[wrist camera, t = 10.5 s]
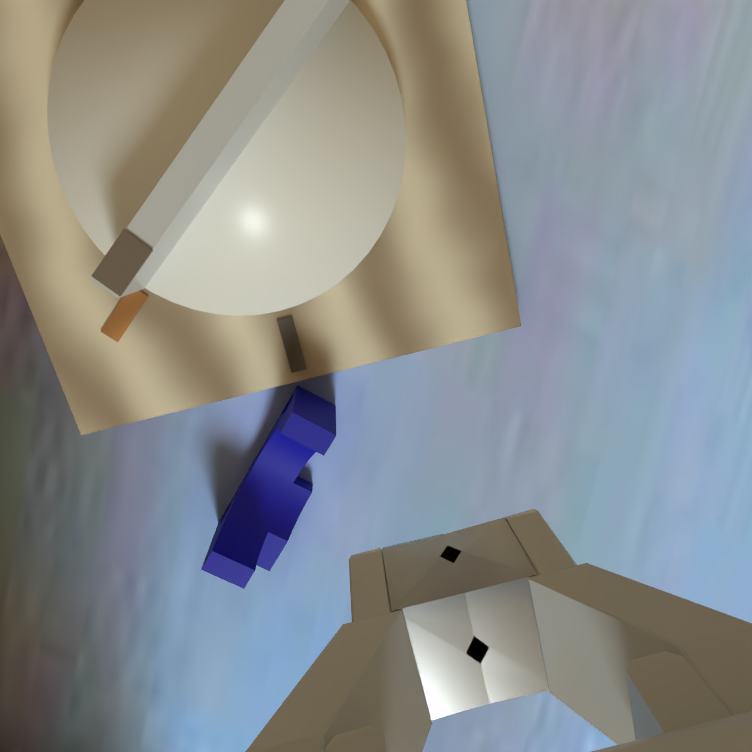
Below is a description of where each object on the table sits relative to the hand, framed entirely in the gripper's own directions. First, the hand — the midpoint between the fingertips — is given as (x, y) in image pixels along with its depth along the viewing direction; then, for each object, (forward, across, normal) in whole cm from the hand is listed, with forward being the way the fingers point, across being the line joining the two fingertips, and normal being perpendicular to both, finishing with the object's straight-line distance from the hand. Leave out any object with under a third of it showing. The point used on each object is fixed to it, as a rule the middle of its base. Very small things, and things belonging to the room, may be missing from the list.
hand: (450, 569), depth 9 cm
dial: (+29, +5, -11) cm, 32 cm away
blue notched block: (+31, +8, +10) cm, 34 cm away
